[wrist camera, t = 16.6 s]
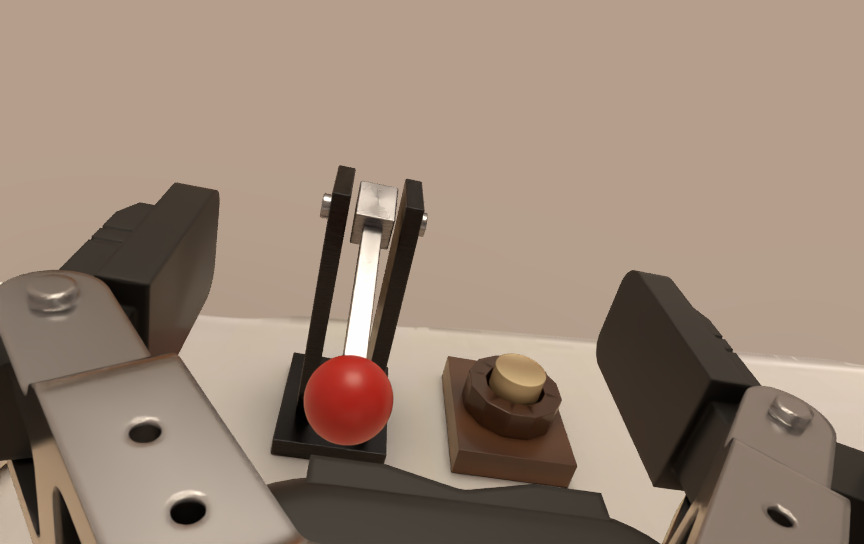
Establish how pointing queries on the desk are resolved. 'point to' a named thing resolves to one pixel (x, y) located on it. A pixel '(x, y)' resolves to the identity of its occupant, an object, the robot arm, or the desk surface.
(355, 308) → the switch lever
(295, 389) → the switch bracket
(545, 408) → the button block
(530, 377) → the button
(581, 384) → the desk surface
